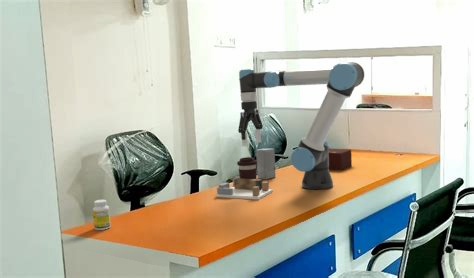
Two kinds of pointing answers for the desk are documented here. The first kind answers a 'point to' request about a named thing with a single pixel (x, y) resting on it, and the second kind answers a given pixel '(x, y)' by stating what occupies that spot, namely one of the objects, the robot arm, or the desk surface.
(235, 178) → the grey frame
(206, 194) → the desk surface
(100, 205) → the pill bottle
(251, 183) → the leg
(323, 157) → the robot arm
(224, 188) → the board
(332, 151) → the box
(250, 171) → the coffee cup
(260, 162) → the skincare box
